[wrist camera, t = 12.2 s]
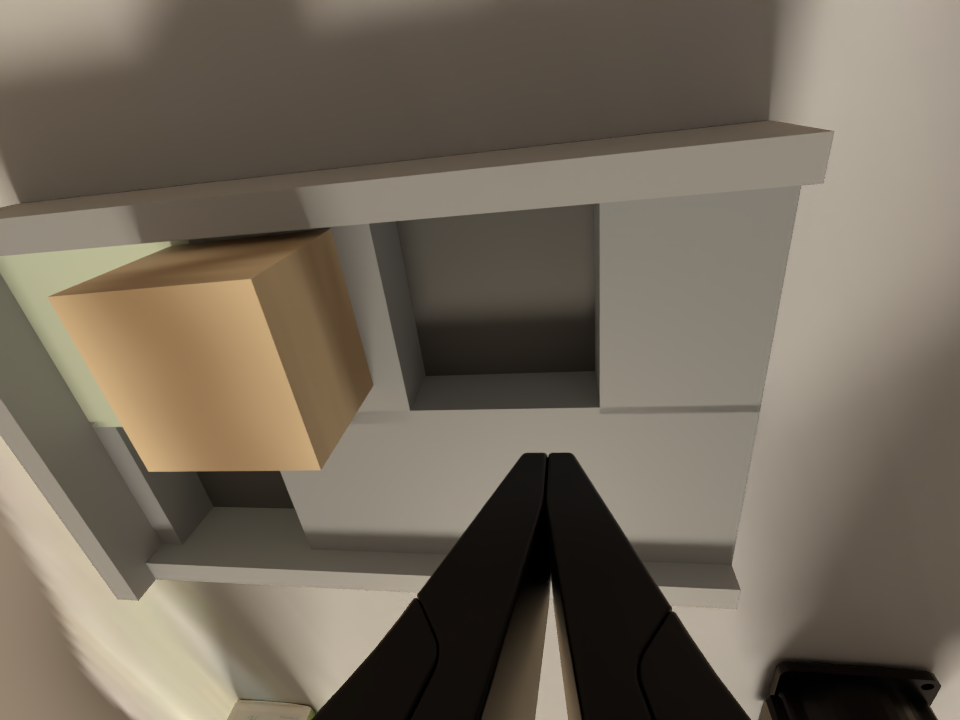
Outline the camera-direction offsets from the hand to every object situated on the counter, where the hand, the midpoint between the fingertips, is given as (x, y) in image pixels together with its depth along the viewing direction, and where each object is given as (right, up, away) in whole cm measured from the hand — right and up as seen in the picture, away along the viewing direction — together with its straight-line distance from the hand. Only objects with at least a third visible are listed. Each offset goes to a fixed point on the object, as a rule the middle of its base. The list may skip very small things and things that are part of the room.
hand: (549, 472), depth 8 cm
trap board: (-5, +1, +10) cm, 11 cm away
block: (-7, +3, +7) cm, 10 cm away
